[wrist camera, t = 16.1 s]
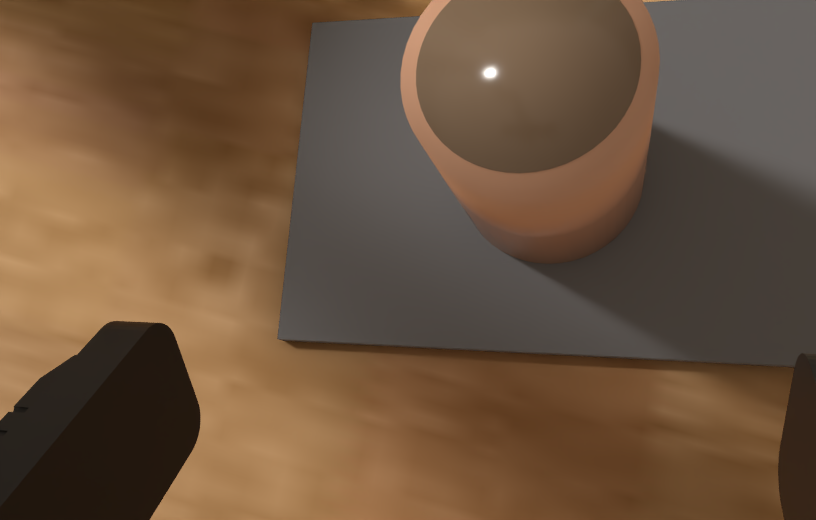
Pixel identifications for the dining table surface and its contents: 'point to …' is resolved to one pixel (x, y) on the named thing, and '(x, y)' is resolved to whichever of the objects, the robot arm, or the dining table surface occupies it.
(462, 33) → the pink and brown cylinder
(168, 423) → the robot arm
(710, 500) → the dining table surface
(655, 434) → the dining table surface
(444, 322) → the charcoal mat
